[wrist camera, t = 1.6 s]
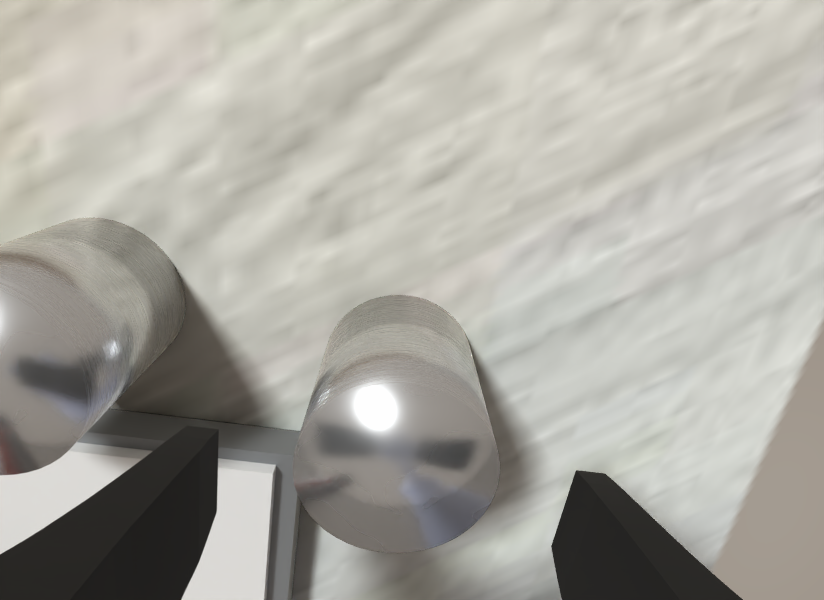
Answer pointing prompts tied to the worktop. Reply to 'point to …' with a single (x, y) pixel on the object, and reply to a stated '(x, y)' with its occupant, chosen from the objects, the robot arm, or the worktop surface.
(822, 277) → the worktop surface
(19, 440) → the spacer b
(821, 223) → the worktop surface
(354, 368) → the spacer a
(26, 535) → the scale
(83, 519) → the robot arm
